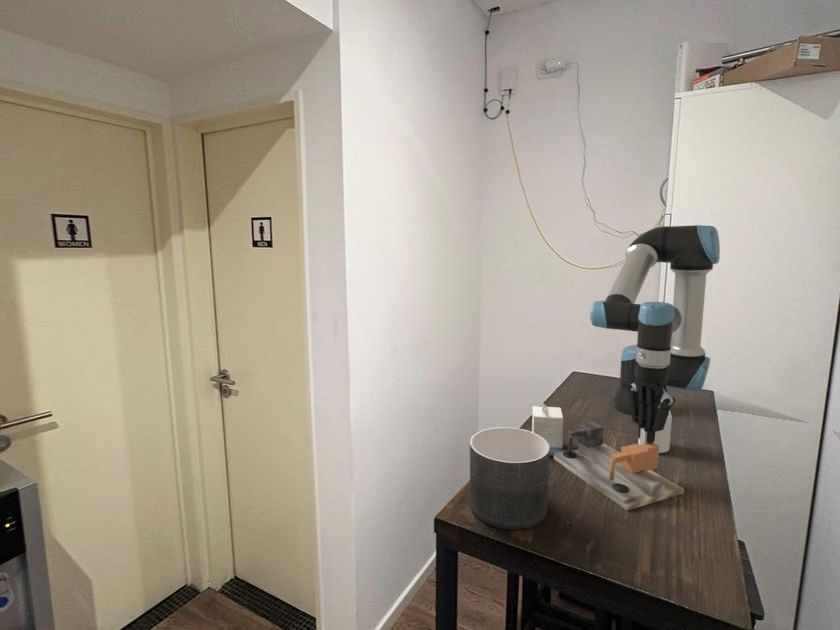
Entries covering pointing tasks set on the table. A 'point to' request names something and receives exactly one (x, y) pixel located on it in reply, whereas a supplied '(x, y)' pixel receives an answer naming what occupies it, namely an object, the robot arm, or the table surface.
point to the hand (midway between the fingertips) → (645, 452)
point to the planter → (509, 477)
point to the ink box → (549, 426)
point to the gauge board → (595, 470)
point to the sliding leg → (636, 458)
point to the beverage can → (663, 436)
